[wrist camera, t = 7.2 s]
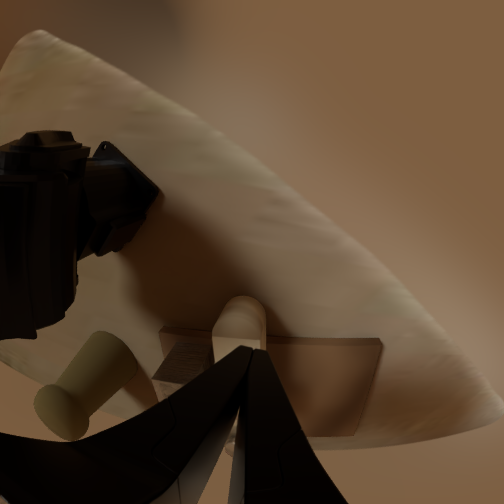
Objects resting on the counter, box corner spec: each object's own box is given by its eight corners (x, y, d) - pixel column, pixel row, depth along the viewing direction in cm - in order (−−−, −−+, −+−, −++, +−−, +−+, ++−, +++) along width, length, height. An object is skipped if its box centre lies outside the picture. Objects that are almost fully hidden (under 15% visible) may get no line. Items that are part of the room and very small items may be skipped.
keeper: (272, 417, 24) (265, 465, 19) (198, 409, 26) (179, 452, 20) (271, 340, 22) (261, 392, 16) (180, 335, 23) (151, 379, 17)
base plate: (183, 415, 26) (180, 421, 25) (163, 326, 23) (158, 332, 22) (352, 428, 24) (353, 435, 23) (378, 337, 20) (381, 345, 19)
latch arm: (272, 432, 23) (269, 456, 21) (227, 427, 24) (220, 450, 21) (276, 297, 19) (271, 319, 16) (212, 293, 20) (198, 314, 17)
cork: (80, 333, 26) (14, 393, 15) (119, 328, 24) (46, 401, 14) (106, 378, 27) (53, 443, 17) (147, 378, 26) (93, 457, 15)
